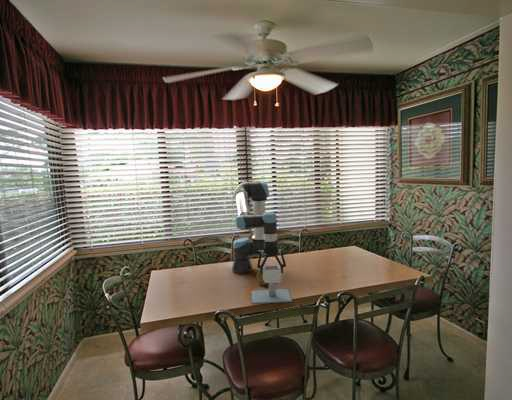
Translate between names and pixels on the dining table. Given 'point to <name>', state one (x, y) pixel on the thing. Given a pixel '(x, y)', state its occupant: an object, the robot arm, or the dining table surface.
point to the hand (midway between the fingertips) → (272, 279)
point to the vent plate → (271, 295)
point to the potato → (261, 279)
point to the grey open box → (272, 274)
